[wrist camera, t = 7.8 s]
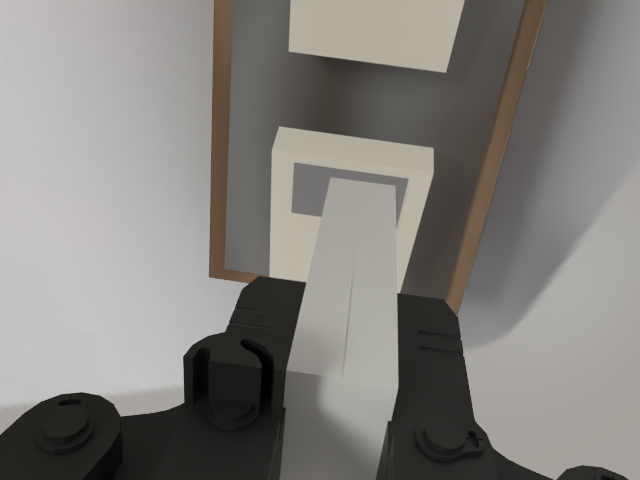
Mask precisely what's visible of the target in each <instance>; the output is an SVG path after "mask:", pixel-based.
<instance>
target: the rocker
mask: <svg viewBox="0 0 640 480" xmlns="http://www.w3.org/2000/svg"><path fill="white" fill-rule="evenodd" d="M433 174H434V148H430V147H423V146H416V145H409V144H401V143H394V142H387V141H380V140H373V139H366V138H358V137H351V136H344V135H337V134H330V133H323V132H315V131H308V130H301V129H294V128H287V127H280V126H279V128H278V131H277V135H276V138H275V141H274V145H273V148H272V168H271V221H270V274H269V277H272V278H279V279H286V280H293V281H301V282H307V278H308V273H309V269H310V265H311V260H312V256H313V252H314V247H315V243H316V239H317V234H318V230H319V226H320V221H321V217H322V213H323V208H324V204H325V200H326V195H327V191H328V187H329V182H330V178H331V177H332V178H340V179H347V180H355V181H363V182H370V183H378V184H386V185H394V186H396V249H397V293H400V291H401V287H402V284H403V280H404V277H405V273H406V270H407V266H408V262H409V259H410V255H411V252H412V248H413V245H414V241H415V238H416V234H417V231H418V227H419V224H420V220H421V216H422V213H423V209H424V206H425V202H426V199H427V195H428V192H429V188H430V185H431V181H432V177H433Z"/></svg>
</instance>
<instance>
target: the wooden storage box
mask: <svg viewBox="0 0 640 480" xmlns="http://www.w3.org/2000/svg"><path fill="white" fill-rule="evenodd" d="M547 1H548V0H465V1H464V5H463V9H462V13H461V17H460V20H459V24H458V28H457V32H456V36H455V40H454V44H453V47H452V51H451V55H450V59H449V63H448V67H447V70H446V73H444V72H436V71H429V70H422V69H414V68H407V67H399V66H392V65H385V64H377V63H370V62H362V61H355V60H348V59H340V58H333V57H325V56H318V55H311V54H303V53H296V52H289V28H290V3H291V0H214V38H213V93H212V148H211V203H210V258H209V277H211V278H218V279H224V280H231V281H238V282H244V283H251V282H252V281H253V280H254V279H255V278H257V277H258V276H264V277H269V274H270V221H271V168H272V148H273V145H274V141H275V138H276V135H277V131H278V128H279V126H280V127H287V128H294V129H301V130H308V131H315V132H323V133H330V134H337V135H344V136H351V137H358V138H366V139H373V140H380V141H387V142H394V143H401V144H409V145H416V146H423V147H430V148H434V174H433V177H432V181H431V185H430V188H429V192H428V195H427V199H426V202H425V206H424V209H423V213H422V216H421V220H420V224H419V227H418V231H417V234H416V238H415V241H414V245H413V248H412V252H411V255H410V259H409V262H408V266H407V270H406V273H405V277H404V280H403V284H402V287H401V291H400V293H401V294H408V295H416V296H423V297H430V298H437V299H444V300H445V301H446V303H447V304H448V305H449V307H450V308H451V309H452V311H453V312H454V313H455V314H458V311H459V308H460V304H461V301H462V297H463V294H464V290H466V287H467V283H468V280H469V276H470V273H471V269H472V266H473V262H474V259H475V255H476V252H477V248H478V245H479V241H480V238H481V234H482V231H483V227H484V223H485V220H486V216H487V213H488V209H489V206H490V202H491V199H492V195H493V192H494V188H495V185H496V181H497V178H498V174H499V171H500V167H501V163H502V160H503V156H504V153H505V149H506V146H507V142H508V139H509V135H510V132H511V128H510V127H511V124H512V120H513V117H514V113H515V109H516V106H517V102H518V99H519V95H520V92H521V88H522V85H523V81H524V78H525V74H526V70H527V68H529V65H530V61H531V58H532V54H533V51H534V47H535V43H536V40H537V36H538V33H539V29H540V26H541V22H542V19H543V15H544V12H545V8H546V5H547Z"/></svg>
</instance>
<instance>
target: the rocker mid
mask: <svg viewBox="0 0 640 480" xmlns="http://www.w3.org/2000/svg"><path fill="white" fill-rule="evenodd" d="M464 1H465V0H291V3H290V28H289V52H296V53H303V54H311V55H318V56H325V57H333V58H340V59H348V60H355V61H362V62H370V63H377V64H385V65H392V66H399V67H407V68H414V69H422V70H429V71H436V72H444V73H446V70H447V67H448V63H449V59H450V55H451V51H452V47H453V44H454V40H455V36H456V32H457V28H458V24H459V20H460V17H461V13H462V9H463V5H464Z"/></svg>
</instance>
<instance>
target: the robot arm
mask: <svg viewBox="0 0 640 480" xmlns="http://www.w3.org/2000/svg"><path fill="white" fill-rule="evenodd" d="M460 338H461V335H460V329H459V323H458V317H457V316H456V315H455V313H454V312H453V311H452V309H451V308H450V307H449V305H448V304H447V303H446V301H445V300H444V299H437V298H430V297H423V296H416V295H408V294H401V293H397V249H396V186H394V185H386V184H378V183H370V182H363V181H355V180H347V179H340V178H332V177H331V178H330V182H329V187H328V191H327V195H326V200H325V204H324V208H323V213H322V217H321V221H320V226H319V230H318V234H317V239H316V243H315V247H314V252H313V256H312V260H311V265H310V269H309V273H308V278H307V282H301V281H293V280H286V279H279V278H272V277H264V276H258V277H257V278H255V279H254V280H253V281H252V282H251V283H249V284H248V285H247V286H246V287H244V288H243V289H242V291H241V294H240V296H239V299H238V301H237V304H236V306H235V310H234V311H233V314H232V316H231V319H230V321H229V325H228V326H227V329H226V331H225V332H223V333H219V334H215V335H211V336H207V337H206V338H204V339H202V340H200V341H199V342H197V343H195V344H193V345H192V346H191V348H190V349H189V350H188V351H187V353H186V354H185V355H184V357H183V363H184V399H185V402H184V403H183V404H181V405H179V406H177V407H174V408H172V409H169V410H166V411H161V412H156V413H150V414H141V415H133V416H123V417H120V415H119V413H118V411H117V409H116V408H115V406H114V404H112V403H111V402H109V401H108V400H106V399H104V398H103V397H101V396H99V395H93V394H88V393H82V392H81V393H71V394H61V395H59V396H56V397H53V398H50V399H48V400H45V401H42V402H40V403H39V404H37V405H36V406H34V407H33V408H31V409H30V410H28V411H27V412H25V413H24V414H23V415H22V416H21V417H20V418H19V419H17V420H16V421H15V422H14V423H13V424H12V425H11V426H10V427H9V428H7V429H6V430H5V431H4V432H3V433H2V434H1V435H0V480H553V479H551V478H548V477H546V476H543V475H541V474H539V473H536V472H534V471H531V470H529V469H526V468H524V467H522V466H520V465H518V464H516V463H514V462H512V461H510V460H508V459H507V458H505V457H504V456H502V455H501V454H500V453H499V452H497V451H496V450H494V449H493V447H492V446H491V444H490V441H489V439H488V436H487V434H486V433H485V432H484V430H483V429H482V428H481V427H480V426H479V425H478V424H477V423H476V422H475V419H474V414H473V408H472V402H471V396H470V390H469V384H468V378H467V372H466V365H465V359H464V357H463V347H462V341H461V340H460ZM557 480H628V479H627V478H625V477H624V476H622V475H619V474H617V473H614V472H612V471H609V470H607V469H604V468H601V467H593V466H584V465H582V466H578V467H575V468H570V469H566V471H565V472H564V473H563V474H562V475H561V476H560V477H559V478H558V479H557Z"/></svg>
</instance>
